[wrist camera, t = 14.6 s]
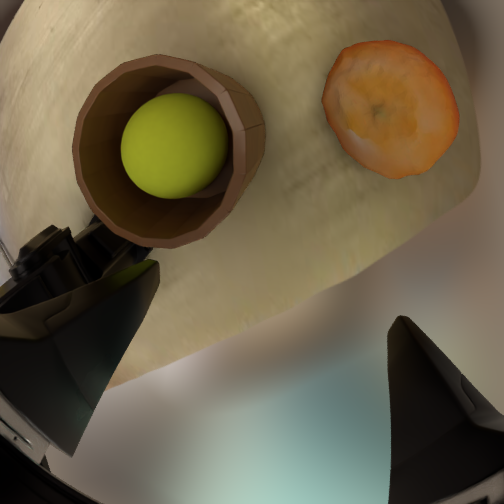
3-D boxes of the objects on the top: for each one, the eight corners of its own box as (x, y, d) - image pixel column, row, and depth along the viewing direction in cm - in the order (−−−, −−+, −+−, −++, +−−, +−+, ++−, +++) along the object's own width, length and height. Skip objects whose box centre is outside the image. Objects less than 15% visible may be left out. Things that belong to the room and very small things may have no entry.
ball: (174, 235, 17) (139, 187, 11) (126, 174, 19) (87, 119, 12) (250, 174, 19) (252, 107, 12) (194, 123, 20) (179, 59, 13)
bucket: (201, 227, 22) (162, 279, 16) (116, 145, 20) (52, 168, 13) (296, 138, 18) (295, 154, 11) (193, 46, 15) (139, 21, 9)
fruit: (464, 153, 14) (470, 191, 9) (369, 157, 20) (330, 193, 15) (437, 44, 11) (430, 19, 6) (340, 61, 16) (286, 57, 12)
